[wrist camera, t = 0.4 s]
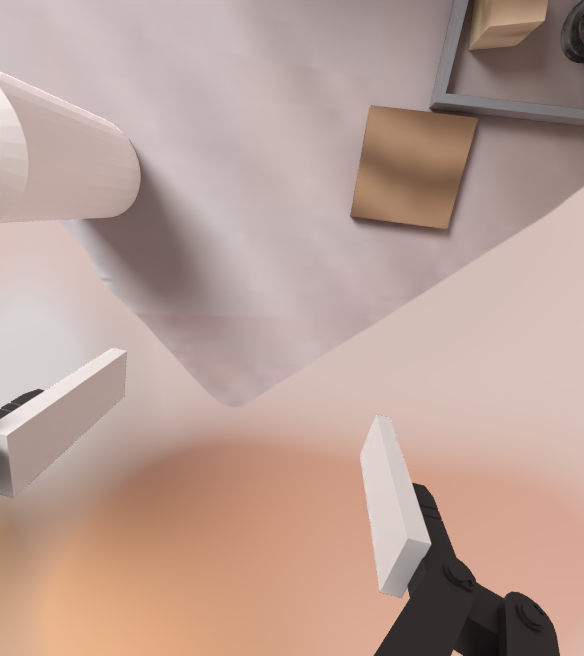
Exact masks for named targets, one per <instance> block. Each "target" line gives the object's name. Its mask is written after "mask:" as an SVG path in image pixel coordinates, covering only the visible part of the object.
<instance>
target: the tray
mask: <svg viewBox="0 0 584 656" xmlns="http://www.w3.org/2000/svg"><path fill="white" fill-rule="evenodd" d="M467 4H468V0H454V4H453V8H452V12H451V17H450V21H449V25H448V30H447V34H446V38H445V43H444V47H443V51H442V55H441V60H440V64H439V68H438V73H437V77H436V81H435V85H434V90H433V94H432V98H431V103H430V107H429V108H433V109H442V110H450V111H459V112H468V113H476V114H485V115H493V116H502V117H510V118H519V119H528V120H536V121H545V122H553V123H562V124H570V125H579V126H584V109H578V108H570V107H561V106H552V105H543V104H535V103H526V102H517V101H508V100H500V99H491V98H482V97H473V96H465V95H456V94H447V93H446V90H447V86H448V82H449V78H450V74H451V70H452V66H453V62H454V58H455V53H456V49H457V45H458V41H459V37H460V33H461V29H462V25H463V21H464V17H465V13H466V9H467Z"/></svg>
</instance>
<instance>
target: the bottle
mask: <svg viewBox="0 0 584 656" xmlns="http://www.w3.org/2000/svg"><path fill="white" fill-rule="evenodd" d="M140 182H141V171H140V165H139V160H138V158H137V155H136V152H135V150H134V148H133V146H132V144H131V142H130V141H129V140H128V138H127V137H126V136H125V134H124V133H123V132H122V131H121V130H120V129H119V128H117V127H116V126H115V125H114V124H112V123H111V122H109V121H107V120H105V119H103V118H101V117H99V116H97V115H94V114H92V113H90V112H88V111H86V110H84V109H81V108H79V107H77V106H75V105H73V104H71V103H68V102H66V101H64V100H62V99H60V98H57V97H55V96H53V95H51V94H49V93H47V92H44V91H42V90H40V89H38V88H36V87H34V86H31V85H29V84H27V83H25V82H23V81H20V80H18V79H16V78H14V77H12V76H10V75H7V74H5V73H3V72H1V71H0V223H5V222H27V221H47V220H69V219H89V218H110V217H114V216H118V215H120V214H122V213H123V212H125V211H126V210H127V209H128V208H129V207H131V205H132V204H133V202H134V201H135V199H136V197H137V195H138V192H139V188H140Z"/></svg>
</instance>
